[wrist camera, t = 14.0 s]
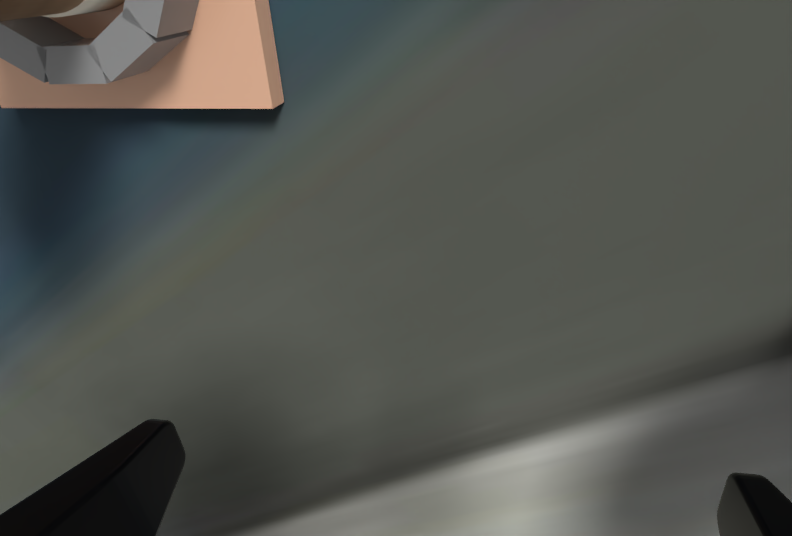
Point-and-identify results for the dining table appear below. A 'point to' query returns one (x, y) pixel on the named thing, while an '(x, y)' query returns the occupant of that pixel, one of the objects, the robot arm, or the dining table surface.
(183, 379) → the dining table surface
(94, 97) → the collar
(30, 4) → the brown cylinder
